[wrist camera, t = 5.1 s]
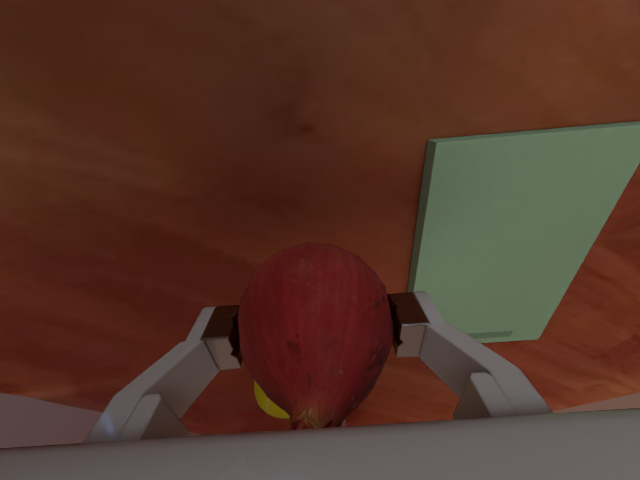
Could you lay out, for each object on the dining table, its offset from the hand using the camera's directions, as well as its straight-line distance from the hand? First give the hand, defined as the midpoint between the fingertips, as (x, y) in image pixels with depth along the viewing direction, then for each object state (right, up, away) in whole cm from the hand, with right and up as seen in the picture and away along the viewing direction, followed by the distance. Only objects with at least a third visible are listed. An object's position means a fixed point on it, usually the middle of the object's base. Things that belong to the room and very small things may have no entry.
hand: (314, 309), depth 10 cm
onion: (0, +2, +3) cm, 3 cm away
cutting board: (+17, +1, +13) cm, 21 cm away
